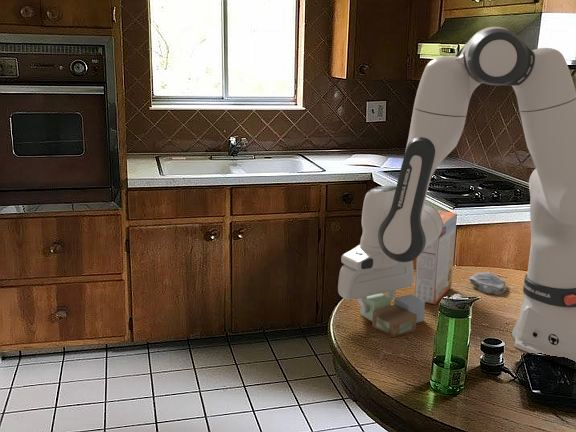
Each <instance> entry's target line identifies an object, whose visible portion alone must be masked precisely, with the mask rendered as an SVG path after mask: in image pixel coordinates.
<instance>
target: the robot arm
mask: <svg viewBox="0 0 576 432" xmlns="http://www.w3.org/2000/svg"><path fill="white" fill-rule="evenodd" d="M481 84H485V85H487V86H489V85H490V86H495V87H496V86H509V87H510V86H511V87H512V89H513V92H514V93H515V94H514V95H515V96H516V99H517V101H516V102H517V105H518V111H519V115H520V120H521V125H522V129H523V133H524V134H523V135H524V138H525V139H524V140H525V142H526V147H527V150H528V152H529V154H530V156H531V159H532V161H533V162H532V163H533V165H534V166H535V169H533V171H532V173H531V174H530V177H529V180H528V188H529V196H530V198H529V199H530V201H529V206H530V207H529V209H530V210H529V211H530V212H529V213H530V214H529V215H530V248H529V249H530V250H529V258H528V264H527V266H528V267H527V273H526V274H525V275H524V280H523V288H522V291H523V298H522V303H521V306H520V310H519V314H518V317H517V320H516V323H515V325H514V327H513V329H512V332H511V334H512V335H511V336H512V338H513V339H514V344H513V345H514V347H515V348H517V349H519V350H521V351H524V352H526V353H528V354H531V353H542V354H546V355H550V356H557V357H565V358H568V359H571V360H573V361H575V362H576V88H575V83H574V80H573V77H572V73H571V70H570V68H569V66H568V64H567V61H566V59H565V56H564V55H563V54H562V52H561V51H559V50H557V49H555V48H549V47H540V48H536V49H531V48H530V47H529V46H528V45H527V44H526V43H525V42H524V41H523V40H522V38H521V37H520V36H518V34H516V33H515V32H513V31H511V30H509V29H507V28H504V27H501V26H489V27H485V28H483V29H481V30H479V31H477V32H475V33H474V34H473V35H472V36H471V37H469V39H468V40H467V41H466V42H465V44H464V45H463V46H462V48H460V50H459V51H458V52H457V53H456V55H455V56H441V57H440V56H439V57H436V58H434V59H431V60H430V61H429V62H428V63H427V64H426V65H425V68H424V71H423V73H422V75H421V78H420V81H419V84H418V87H417V91H416V95H415V98H414V103H413V109H412V114H411V119H410V120H411V121H410V127H409V132H408V138H407V142H406V147H405V150H404V151H405V152H404V157H403V160H402V164H401V165H400V166H401V167H400V171H399V175H398V179H397V183H396V186H394V185H381V186H375V187H374V188H371V189H369V190H368V191H367V192H366V194H365V196H364V198H363V199H364V200H363V205H362V211H361V228H362V233H361V234H362V235H361V237H360V242H359V244H358V245H356V246H355V247H353V248H351V250H348V251H346V252H345V253H343V254H342V255H341V259H340V260H341V263H342V264H343V265H342V266H341V268H340V270H339V273H338V274H339V275H338V282H337V283H338V284H337V292H338V294H339V296H340V297H341V298H343V299H345V300H346V301H352V300H355V299H356V300H357V302H358V304H359V307H360V308H359V311H361V312H362V313H367V312H369V311H370V310H369V309H370V306H369V305H367V304H366V302H365V300H367V296H370V295H375V294H379V293H382V294H384V293H386V294H385V295H386V296H388V297H390V298H391V302H392V301H393V299H394V298H395V296H396V293H397V290H401V289H406V288H410V287H412V286H413V284H414V283H415V280H414V279H415V270H414V260H415V259H416V260H417V257H418V256H419V255H420V254H421V252H422V251H423V250H425V249H426V248H427V247H429V246H430V245H431V244H432V243H433V242H435V241H436V240H437V239H438V238H439V236H440V235H441V233H442V229H443V222H442V218H441V216H440V214H439V213H438V212H437V211H438V210H436V209H435V208H434V207H432V206H431V205H428V204H425V203H426V199H427V194H428V191H429V187H430V183H431V179H432V177H433V175H434V173H435V171H436V170H437V169H438V167H439V165H440V164H441V163H442V162H443V161H444V159H445V158H447V156H448V155H449V154H450V153H451V152H453V150H455V148H456V147H457V146H458V143H459V141H460V139H461V136H462V133H463V131H464V128H465V124H466V119H467V115H468V109H469V105H470V101H471V97H472V94H473V93H474V91H475V89H476V88H478V86H480V85H481Z"/></svg>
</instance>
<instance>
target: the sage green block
mask: <svg viewBox="0 0 576 432" xmlns="http://www.w3.org/2000/svg"><path fill="white" fill-rule="evenodd" d="M365 302H366V304H367V305H369V306H370V309H369V310H370V311H369V312H367V313H362V312H361V311H360V310H359V311H360V313H359V315H361V316H362V317H363V318H366V319H367V320H369V321H370V322H372V319H373V311H375V310H379V309H382V308H385V307H388V306H392V305H391V304H392V301H391V298H390V297H388V296H386V294H384V293H379V294H375V295H370V296H367V300H365Z"/></svg>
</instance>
